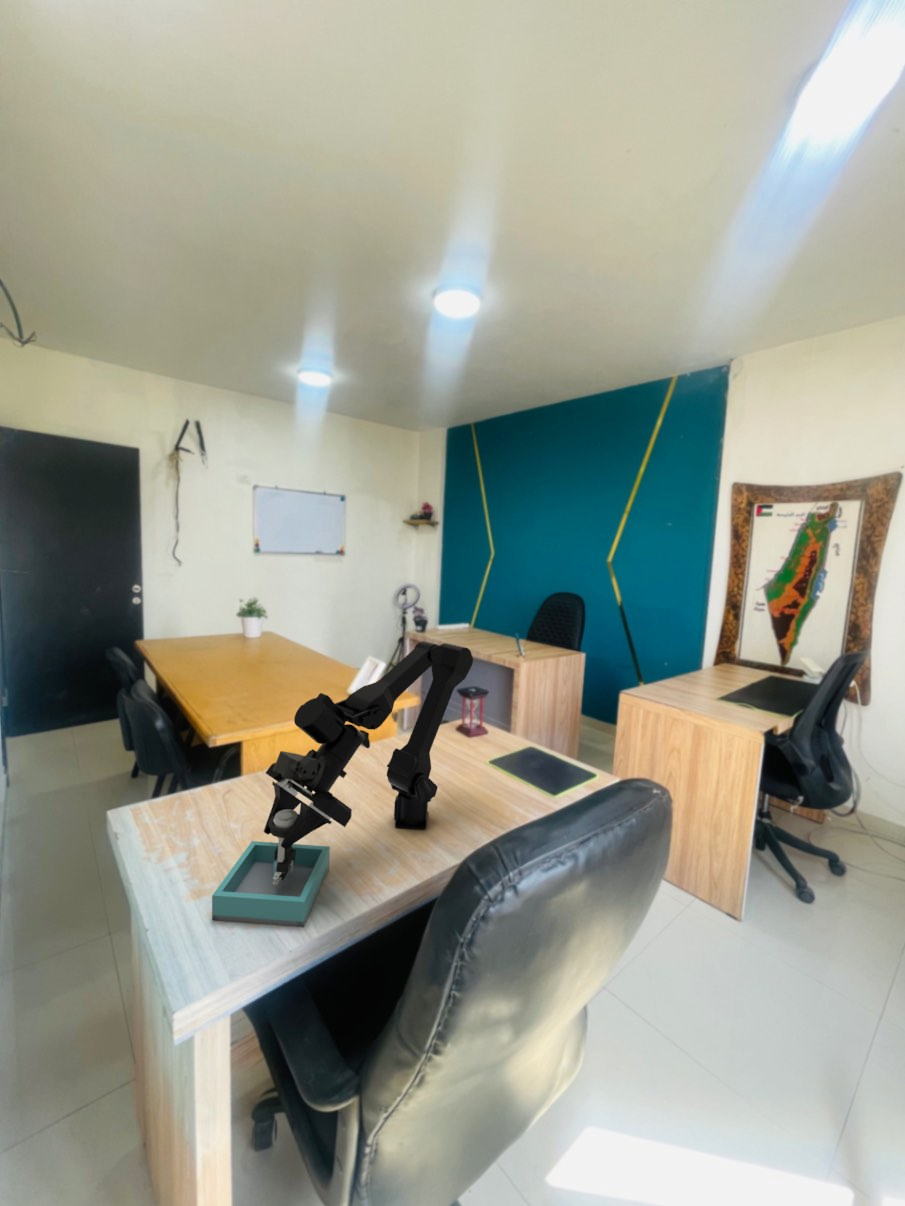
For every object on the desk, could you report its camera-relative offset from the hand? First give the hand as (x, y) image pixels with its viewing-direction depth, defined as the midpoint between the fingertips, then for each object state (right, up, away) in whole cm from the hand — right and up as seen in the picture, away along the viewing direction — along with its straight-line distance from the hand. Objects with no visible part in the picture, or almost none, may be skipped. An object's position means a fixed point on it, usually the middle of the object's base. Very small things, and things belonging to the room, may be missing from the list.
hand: (274, 840), depth 81 cm
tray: (0, -9, +1) cm, 9 cm away
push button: (+1, -7, +2) cm, 7 cm away
